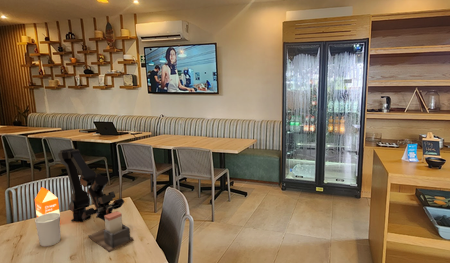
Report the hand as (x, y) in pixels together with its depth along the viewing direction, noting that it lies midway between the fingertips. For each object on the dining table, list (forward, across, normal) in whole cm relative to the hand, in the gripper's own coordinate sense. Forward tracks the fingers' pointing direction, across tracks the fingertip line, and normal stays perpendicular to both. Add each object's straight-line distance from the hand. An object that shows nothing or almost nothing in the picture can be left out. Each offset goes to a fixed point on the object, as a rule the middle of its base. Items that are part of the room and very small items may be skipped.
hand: (111, 224), depth 131 cm
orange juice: (-22, -13, +33) cm, 42 cm away
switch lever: (+6, 0, +3) cm, 7 cm away
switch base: (+4, 0, +6) cm, 8 cm away
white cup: (-9, -19, +21) cm, 29 cm away
